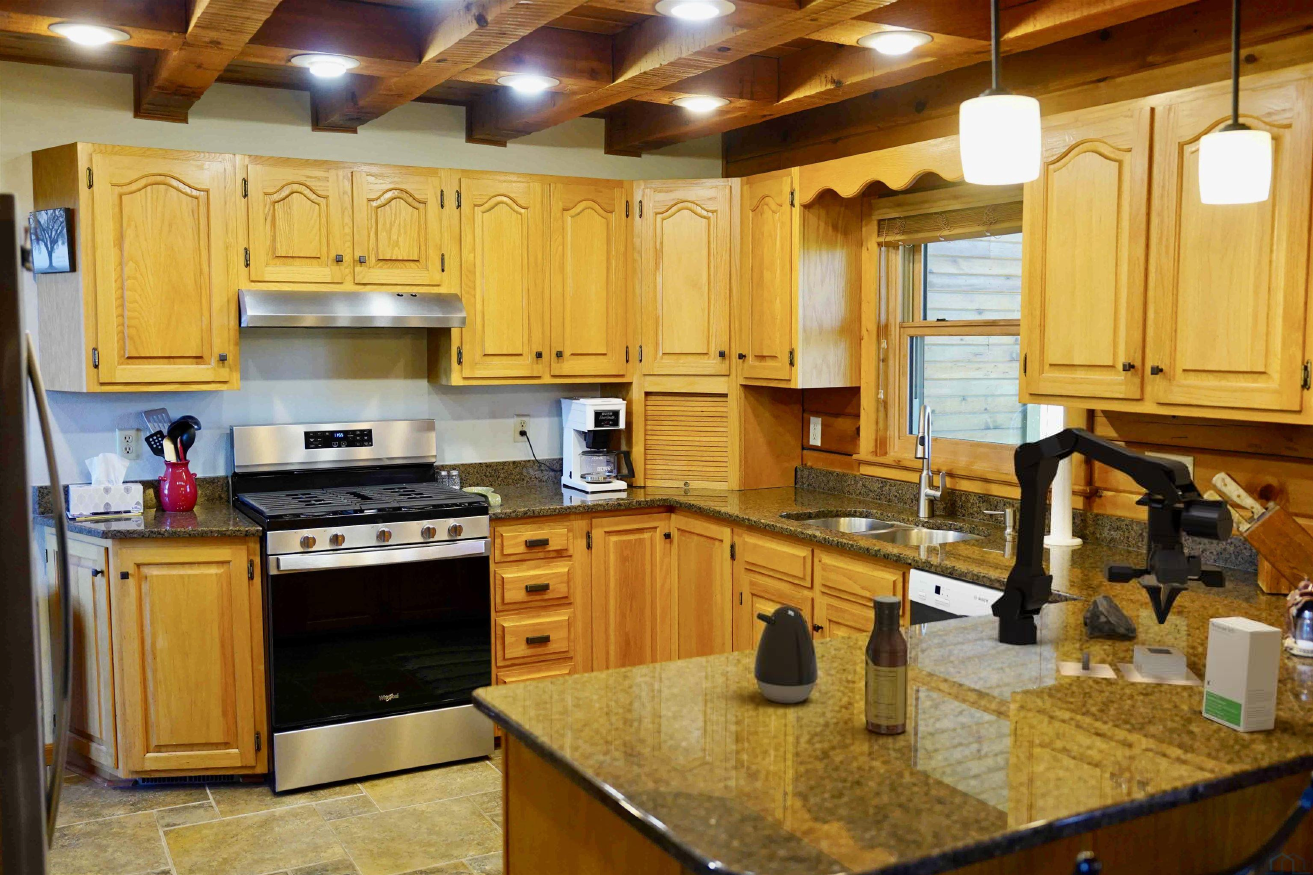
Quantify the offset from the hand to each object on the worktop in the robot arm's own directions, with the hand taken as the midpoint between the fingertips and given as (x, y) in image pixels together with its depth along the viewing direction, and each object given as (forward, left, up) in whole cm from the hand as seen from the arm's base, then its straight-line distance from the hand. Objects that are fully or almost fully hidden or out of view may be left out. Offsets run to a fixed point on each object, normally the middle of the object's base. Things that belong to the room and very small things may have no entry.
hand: (1160, 623), depth 200 cm
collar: (0, 0, -9) cm, 9 cm away
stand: (-12, 0, -10) cm, 16 cm away
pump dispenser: (-62, -26, -10) cm, 68 cm away
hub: (0, 0, -10) cm, 10 cm away
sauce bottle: (-46, -38, -10) cm, 61 cm away
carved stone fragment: (-2, +33, -10) cm, 35 cm away
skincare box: (+7, -22, -10) cm, 25 cm away
